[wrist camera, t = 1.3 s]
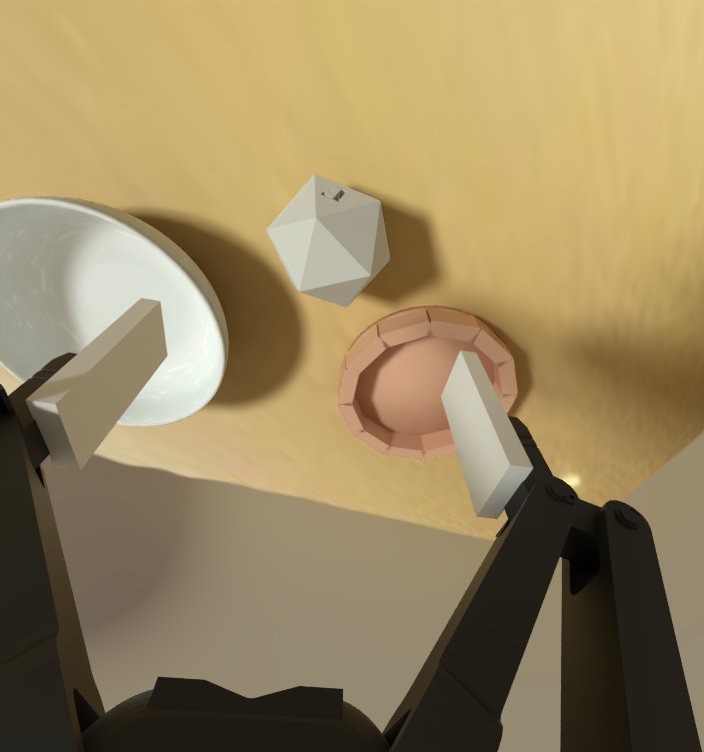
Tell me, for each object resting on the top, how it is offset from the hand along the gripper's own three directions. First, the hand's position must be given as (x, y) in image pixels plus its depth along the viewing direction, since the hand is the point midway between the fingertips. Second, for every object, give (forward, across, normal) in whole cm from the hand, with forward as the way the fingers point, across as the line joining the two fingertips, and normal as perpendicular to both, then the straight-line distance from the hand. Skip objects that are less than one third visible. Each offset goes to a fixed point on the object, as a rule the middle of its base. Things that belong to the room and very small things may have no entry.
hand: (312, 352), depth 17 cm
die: (+19, 0, 0) cm, 19 cm away
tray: (+19, +12, -14) cm, 26 cm away
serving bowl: (+19, -18, -10) cm, 28 cm away
